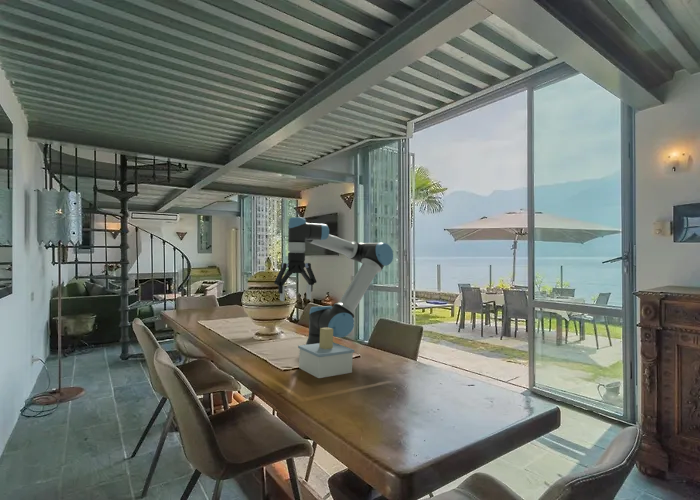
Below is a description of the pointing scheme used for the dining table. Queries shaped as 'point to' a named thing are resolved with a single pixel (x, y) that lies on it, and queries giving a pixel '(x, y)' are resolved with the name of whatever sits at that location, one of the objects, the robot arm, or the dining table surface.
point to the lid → (325, 345)
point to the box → (325, 364)
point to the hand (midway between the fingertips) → (295, 300)
